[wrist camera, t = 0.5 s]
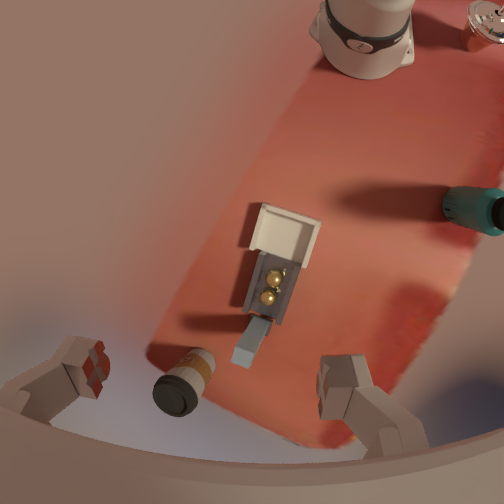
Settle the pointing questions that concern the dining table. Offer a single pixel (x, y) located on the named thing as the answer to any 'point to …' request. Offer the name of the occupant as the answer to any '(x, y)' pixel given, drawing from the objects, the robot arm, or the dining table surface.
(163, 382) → the coffee cup
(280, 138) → the dining table surface
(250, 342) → the tall gray pillar
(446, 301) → the dining table surface
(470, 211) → the beverage bottle
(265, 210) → the ball tray
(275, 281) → the gold metallic ball
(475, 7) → the cup with straw
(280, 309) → the slot rail
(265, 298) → the brass sphere
